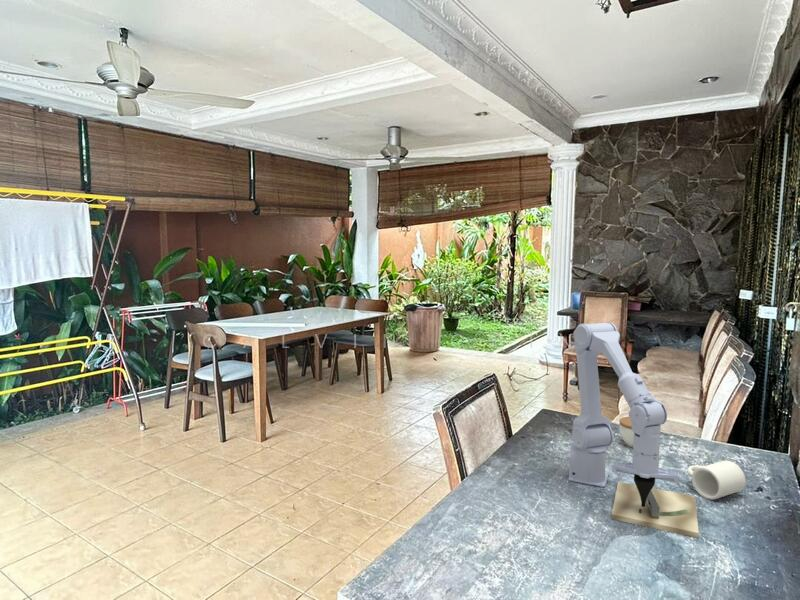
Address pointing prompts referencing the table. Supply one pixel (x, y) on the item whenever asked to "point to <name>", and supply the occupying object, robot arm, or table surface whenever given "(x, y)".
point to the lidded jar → (626, 430)
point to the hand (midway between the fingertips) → (643, 505)
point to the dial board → (673, 510)
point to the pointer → (652, 505)
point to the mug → (717, 479)
